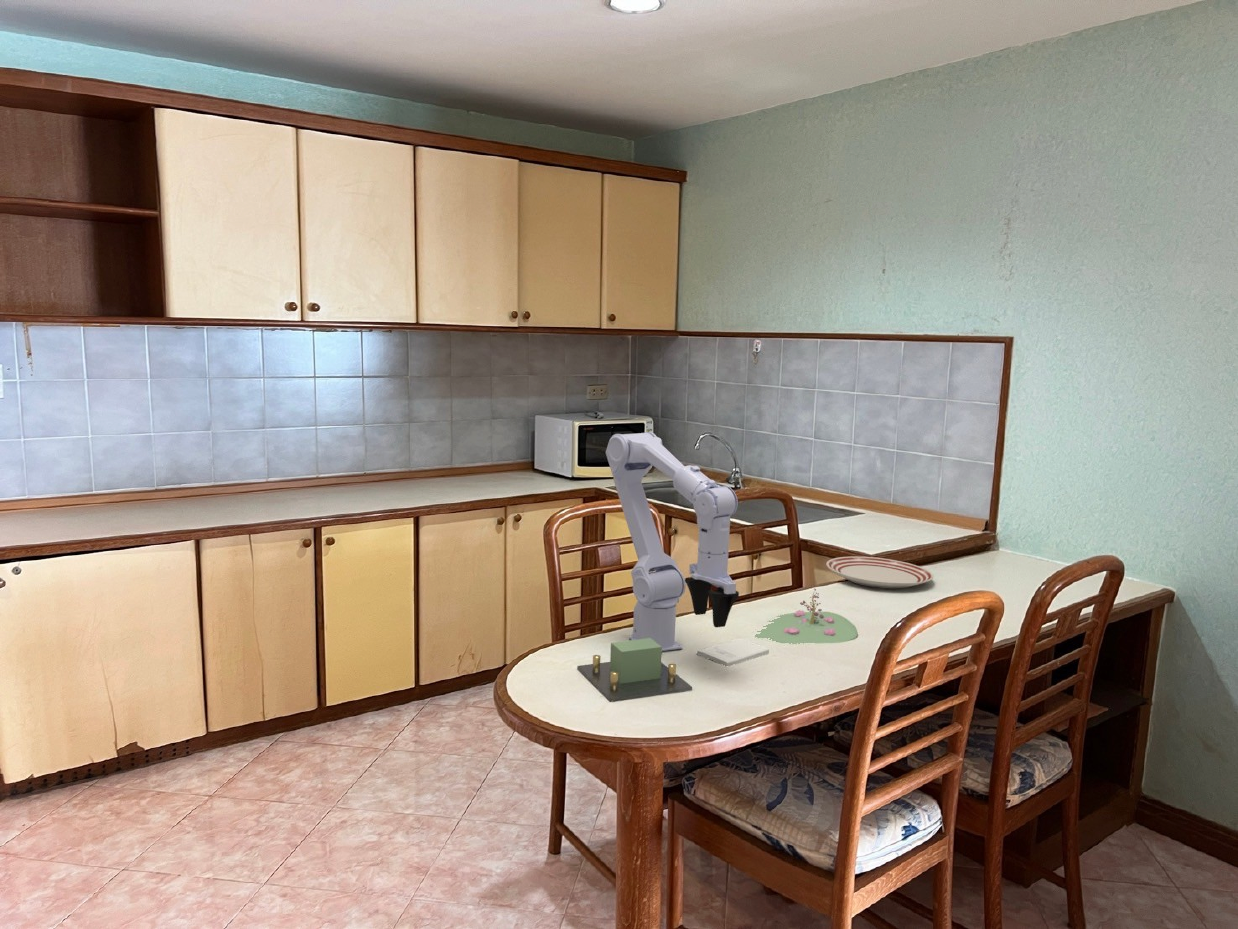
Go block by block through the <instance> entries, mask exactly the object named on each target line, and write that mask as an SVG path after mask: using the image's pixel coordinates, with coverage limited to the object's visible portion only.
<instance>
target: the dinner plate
mask: <svg viewBox="0 0 1238 929" xmlns="http://www.w3.org/2000/svg"><path fill="white" fill-rule="evenodd" d="M825 565H826V567H827V568H828V570H830V571H831V572H833V573H834V574H835V575H838V576H839V577H841V578H844V579H846V580H847V581H849V582H851V583H854V584H857V585H861V586H866V587H871V588H879V589H890V590H891V589H905V588H910V587H914V586H915V587H916V586H918V585H922V584H925V583H927V582H929V581H932V580H933V579H934V574H933V573H932V571H930V570H928V569H926V568H924V567H922V566H919V565H916V564H913V563H909V562H905V561H899V560H895V559H889V558H882V557H875V556H874V557H873V556H840V557H834V558H832V559H829V560H828V561H826V564H825Z"/></svg>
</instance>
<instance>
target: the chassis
mask: <svg viewBox="0 0 1238 929" xmlns="http://www.w3.org/2000/svg"><path fill="white" fill-rule="evenodd" d="M576 668H577V670H578V671H579V672H580V674H582V675H583V677H585V678H586V679H587V680H588V681H589V682H590V684H592V685H593V686H594V687H595V689H596V690H598V691H599V692H600V693H601V695H603V696H604V698H606V700H608V702H610V703H611V701H613V702H618V700H620V701H627V700H633V699H634V700H635V699H639V698H646V697H647V698H648V697H653V696H662V695H668V694H675V693H683V692H688V691H689V692H690V691H693V686H692V685H691V684H690V683H688V682H687V681H685V680H684V679H683V678H682V677H680V676H679V675H678V674H677V673H676V672H677V671H676V670H677V665H676V663H668V666H667V665H665V664H664V663H663V662H662V661H661V678H659V679H651V680H644V681H637V682H630V683H622V684H620V683H619V682H618V672H617V671H612V672H611V674H610V661H606V662H601V655H600V654H593V655H592V663H589V664H581V665H577V667H576Z"/></svg>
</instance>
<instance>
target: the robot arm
mask: <svg viewBox="0 0 1238 929" xmlns="http://www.w3.org/2000/svg"><path fill="white" fill-rule="evenodd" d="M605 455H606V458H607V462H608V464H609V468H610V471H611V474H612V478H613V483H614V486H615V490H616V492H617V496H618V499H619V502H620V505H621V509H622V511H623V515H624V518H625V521H626V525H627V528H628V531H629V535H630V538H631V540H632V544H633V546H634V550H635V552H636V558H637V559H638V560H637V562H636V563H635V565H634V566H633V568H632V569H631V571H630V575H631V578H632V592H633V595H634V597H635V599H636V600H637V601H636V603H635V605H634V608H633V620H632V622H633V624H632V635H628V639H630V640H638V639H646V638H651V639H652V640H653V641H655V642H656V643H657V644H659V645H660V646H661V647H662V652H667V651H674V650H681V649H683V646H682V645H681V643H678V642H677V641H676V640H675V639H676V637H675V636H676V623H677V622H676V620H677V619H676V618H677V604H678V603H680V598H682V597H683V596H684V594H685V591H686V588H688V590H689V593H690V596H691V601H692V608H693V613H694V614H695V616H699V615H701V616H702V615H706V613H707V609H708V603H709V599H710V603H711V608H712V623H713V624H712V625H713V627H715V628H722V627H725V626H727V625H726V624H727V621H728V618H729V616H730V615H729V614H730V612H731V611H732V610H731V609H732V608H733V606H734V604H735V602H736V600H737V599H738V598H739V597H740V592H739V591H738V590H737V583H736V582H735V581H733V579H732V578H731V576H730V575H729V573H728V564H729V550H730V530H731V529H730V527H731V516H733V515H734V514H735V513H737V509H738V506H739V505H738V503H739V500H738V497H737V494H736V493H735V491H734V489H732V488H731V486H729V485H720V484H717V482H716V481H715V480H713V479H710V478H709V477H708V476H707V475H705V474H704V473H703V472H702V471H701V467H699V466H698V465H691V464H690V465H684V464H683V463H682V462H681V461H680V460H678V458H676V457H675V455H673V454H672V453H671V451H669V450H668V449H667V448H666V447H665V446H664V445H663V440H662V439H661V438H660V437H658V436H657V435H656V433H653V432H652V431H646V432H641V433H640V432H639V433H624V434H621V433H615V434H613V435H612V436H611V437H610V438H609V441H608V444H607V447H606V450H605ZM652 467H653V468H655V469H657V470H658V471H660V472H661V473H662V474H664V475H665V476H667V477H668V478H670V479H671V480H672V486H673V488H674V490H676V491H677V493H679V494H680V495H682V496H683V497H684V498H685V499H687V500H688V501H689V503H691V504H693V511H694V513H695V515H696V524H697V526H698V544H697V546H698V547H697V562H696V563H689V566H688V567H689V570H688V574H690V575H691V576H688V577H685V575H684V574H683V572H682V571H681V570H680V568H679V567H678V565H677V561H676V559H674V558H673V557H671V556H670V555H668V554H667V553H665V552H664V549H663V545H662V542H661V539H660V537H659V536H660V535H659V533H658V529H657V526H656V524H655V520H654V517H653V514H652V511H651V508H650V504H649V502H648V499H647V496H646V492H645V490H644V486H643V483H642V481H643V479H644V477H645V476H646V475H648V473H649V471H650V470H651V469H652ZM686 585H687V586H686ZM712 586H714V587H716V588H717V589H712ZM711 589H712V590H711Z"/></svg>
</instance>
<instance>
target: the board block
mask: <svg viewBox="0 0 1238 929" xmlns="http://www.w3.org/2000/svg"><path fill="white" fill-rule="evenodd" d="M662 652H663V651H662V647H661V646H660V645H659V644H657V643H656V642H655V641H653V640H652V639H651V638H646V639H638V640H631V639H630V640H622V641H621V640H620V641H612V642H610V658H609V660H610V661H609V662H610V674H611V672H612V671H617V672H618V682H619V683H620V684H622V683H630V682H637V681H644V680H651V679H659V678H661V662H662V655H663V654H662Z"/></svg>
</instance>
